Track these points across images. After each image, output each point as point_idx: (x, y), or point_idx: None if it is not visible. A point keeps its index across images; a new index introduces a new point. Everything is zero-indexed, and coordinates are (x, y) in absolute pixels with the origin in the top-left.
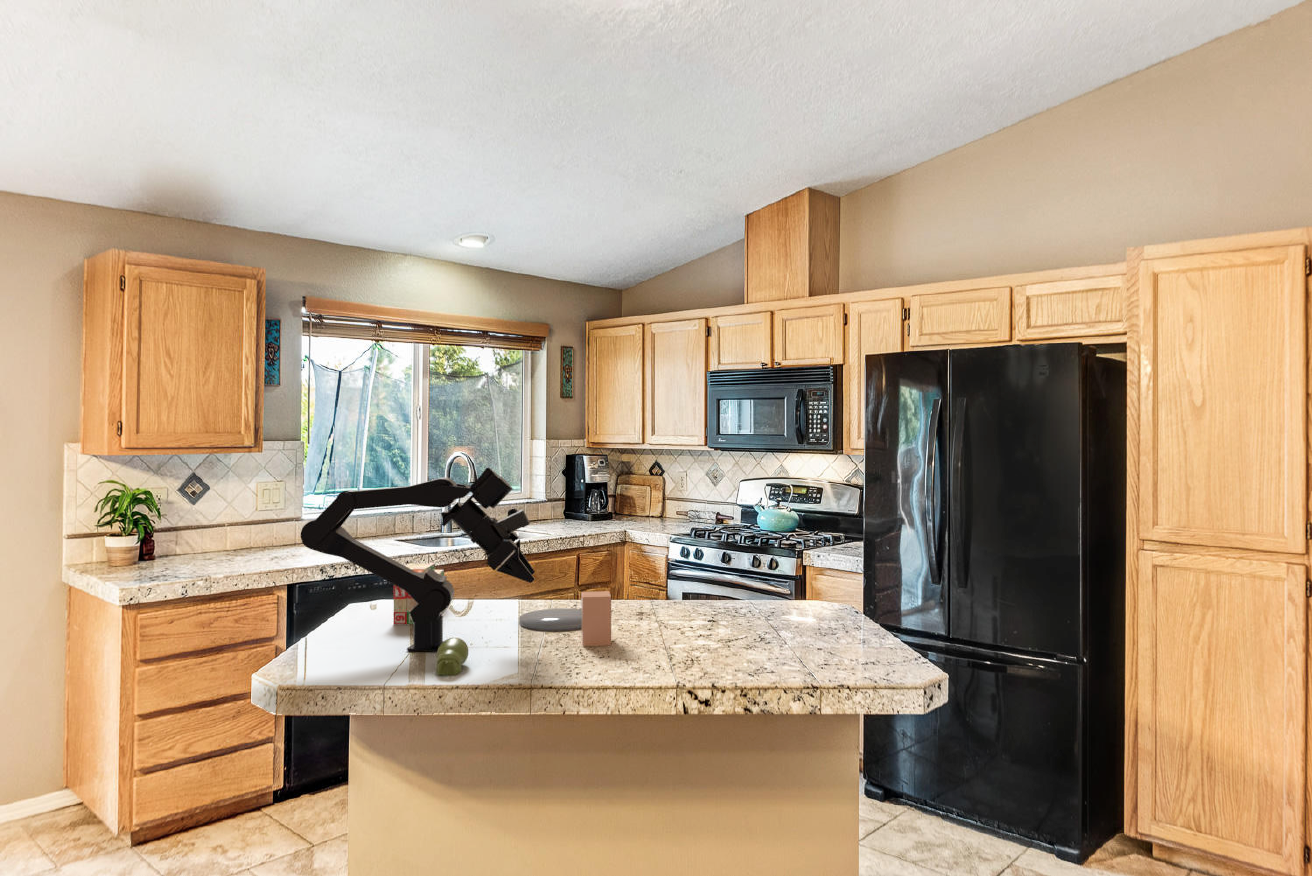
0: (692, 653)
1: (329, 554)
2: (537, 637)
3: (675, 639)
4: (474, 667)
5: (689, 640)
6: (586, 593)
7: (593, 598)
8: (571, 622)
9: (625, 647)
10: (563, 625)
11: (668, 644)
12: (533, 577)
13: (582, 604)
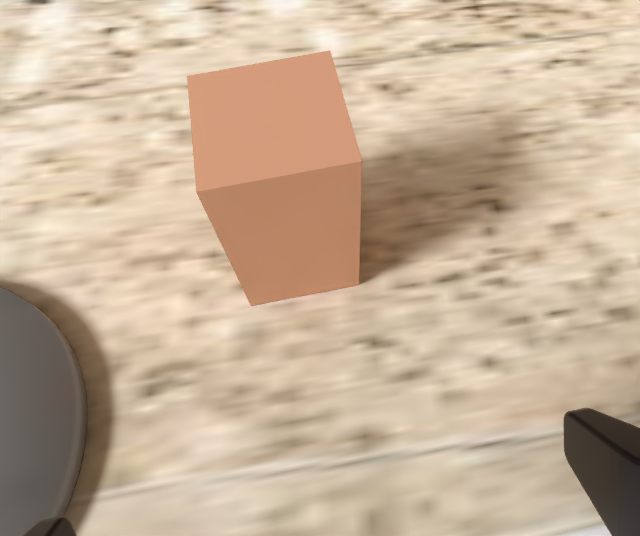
0: (408, 10)
1: None
2: (200, 511)
3: (255, 52)
4: None
5: (267, 24)
6: (247, 159)
7: (348, 121)
8: (25, 371)
9: None
10: (75, 399)
11: None
12: (593, 414)
13: (330, 196)
